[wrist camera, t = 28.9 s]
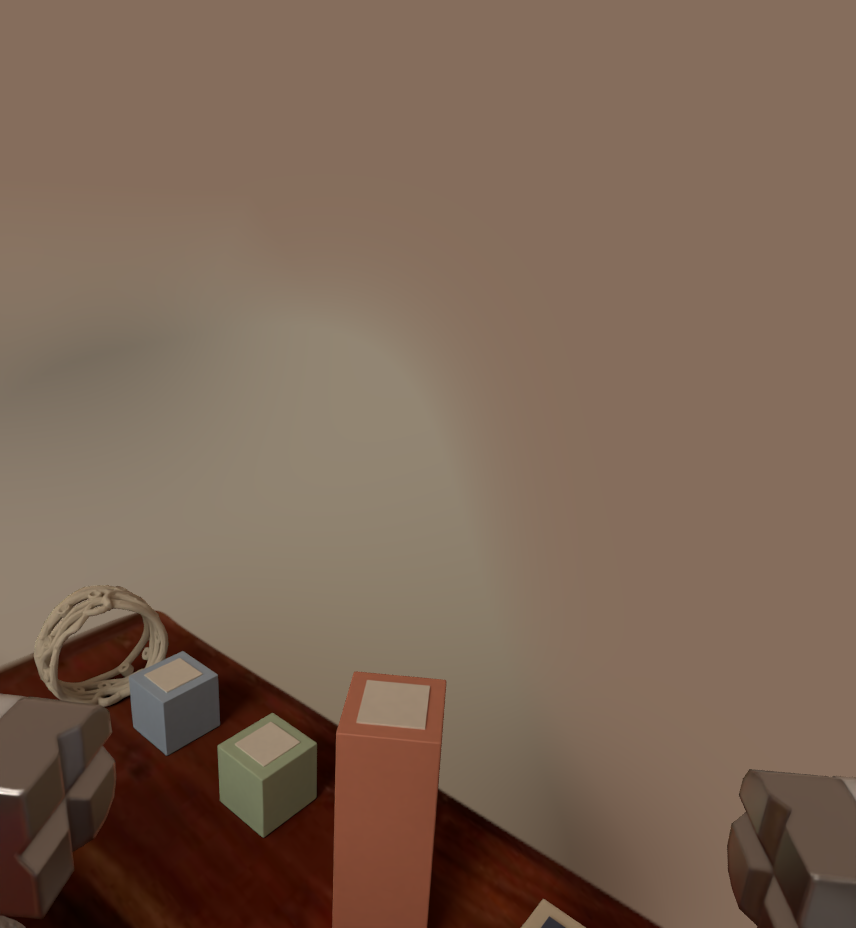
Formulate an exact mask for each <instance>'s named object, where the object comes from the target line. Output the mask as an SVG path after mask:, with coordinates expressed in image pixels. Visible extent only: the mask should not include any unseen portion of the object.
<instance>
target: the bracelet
mask: <svg viewBox="0 0 856 928" xmlns="http://www.w3.org/2000/svg"><path fill="white" fill-rule="evenodd" d="M87 599H88V601H84V600H87ZM82 601H84V602H82ZM80 602H82V603H80ZM78 603H80V604H79V605H77V606H76V607H73V606H75V605H76V604H78ZM97 606H101V607H97ZM95 607H97V608H95ZM93 608H95V609H93ZM111 609H125V610H129V611H133V612H137V613H139V614H141V615H142V617H143V621H144V632H143V635H142V637H141V640H140V641H139V643H138V644H137V646H136V647H135V648H134V650H133V651H132V652H131V654H130V655H129V656H128V657H127V658H126V659H125V661H124V662H123V663H122V664H120V665H119V666H118V667H117V668H115V669H113V670H111V671H109V672H107V673H104V674H102V675H99V676H97V677H94V678H92V679H89V680H86V681H84V682H79V683H69V682H63V681H60V680H58V676H57V672H58V658H59V654H60V650H61V647H62V645H63V643H64V642H65V640H66V639H67V638H68V637H69V636H70V635H72V634H74V633H76V632H77V631H78V630H79V629H80V628H81V627H82V625H83V624H84V623H85V621H86V620H87V619H88V617H89V616H95V615H99V614H102V613H105V612H106V611H110V610H111ZM62 618H63V620H61V619H62ZM60 620H61V622H60V623H59V624H58V625H57V626H56V624H57V623H58V622H59V621H60ZM55 626H56V628H55V629H54V627H55ZM53 629H54V630H53ZM51 631H52V632H51ZM149 637H150V638H149ZM149 639H150V642H149V648H145V649H144V651H143V654H142V658H143V659H144V660H148V661H147V664H146V667H145V668H148V667H150V666H152V665H154V664H156V663H158V662H160V661H163V660H165V658H166V657H165V656H166V653H167V649H168V634H167V632H166V630H165V626H164V625H163V624H162V623H161V621H160V618H159V614H158V613H156V612H155V611H154V610H153V609H152V608H151V607H150V606H149V605H148V604H147V603H146V602H145V601H144V600H143V599H142V598H141V597H139V596H137V595H135V594H133V593H131V592H129V591H127V589H125V588H123V587H120V586H116V587H113V586H109V585H106V586H100V585H99V586H89V587H83V588H81V589H79V590H77V591H75V592H74V593H72V594H71V595H68V597H67V598H65V599H64V600H63V601H62V602H61V603H60V604H59V605H57V606H56V607H55V608H54V610H53V611H52V612H51V614H50V615H49V617H48V618H47V620H46V621H45V622H44V625H43V627H42V630H41V632H40V634H39V636H38V638H37V641H36V642H35V648H34V658H35V662H36V665H37V668H38V671H39V675H40V677H41V680H43V681H44V682H45V683H46V686H47V687H48V690H50V691H51V692H52V693H53V694H54V695H55V696H56V697H57V698H59V699H60V700H62V701H70V702H78V703H86V704H94V705H101V706H103V707H107V706H110V705H112V704H114V703H117V702H119V701H120V700H121V699H123V698H125V697H127V696H130V685H129V676H130V675H132V673H133V671H134V667H133V666H132V665H131V663H132V662H133V661H134V659H135V658H136V657H137V656H138V655H139V653H140V652H141V650H142V649H143V647H144V646H145V644H146V643H147V641H148V640H149ZM51 656H52V658H51ZM50 658H51V662H50ZM141 670H143V669H140V670H138V671H136V672H134V673H133V674H135V673H137V672H139V671H141ZM120 673H121V674H122V675H123V676H125V678H122V679H111V680H108V679H110V678H112V677H114V676H116V675H118V674H120ZM94 689H96V690H94ZM109 695H112V696H111V697H108V698H103V697H105V696H109Z"/></svg>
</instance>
